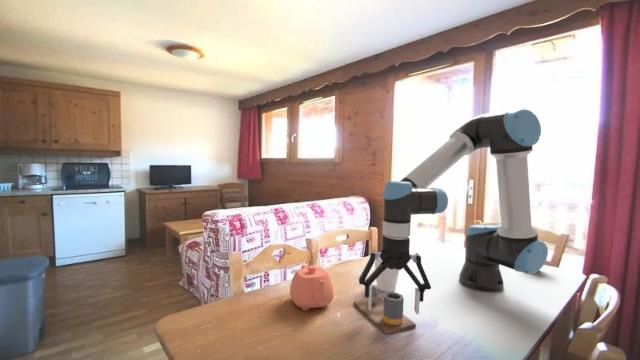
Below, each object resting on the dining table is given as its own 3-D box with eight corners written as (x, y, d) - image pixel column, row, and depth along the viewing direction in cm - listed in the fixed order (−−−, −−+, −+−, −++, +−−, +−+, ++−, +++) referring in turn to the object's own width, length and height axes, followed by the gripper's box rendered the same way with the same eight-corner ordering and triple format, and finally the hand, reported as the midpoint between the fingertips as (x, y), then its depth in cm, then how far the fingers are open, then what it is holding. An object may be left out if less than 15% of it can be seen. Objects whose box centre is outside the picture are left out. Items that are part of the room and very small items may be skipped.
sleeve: (403, 325, 82) (404, 301, 82) (384, 323, 83) (385, 299, 83) (400, 316, 88) (401, 293, 87) (382, 314, 88) (383, 291, 88)
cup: (399, 295, 104) (401, 261, 103) (373, 292, 106) (374, 259, 105) (398, 284, 113) (399, 253, 112) (374, 282, 114) (375, 251, 114)
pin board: (353, 304, 96) (353, 283, 96) (379, 299, 100) (380, 279, 100) (386, 334, 80) (387, 309, 79) (415, 327, 83) (416, 303, 83)
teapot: (301, 324, 84) (302, 282, 83) (284, 294, 102) (284, 259, 102) (344, 316, 89) (345, 276, 88) (320, 289, 107) (321, 256, 106)
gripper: (437, 235, 86) (434, 307, 87) (352, 230, 89) (350, 300, 90) (445, 242, 78) (441, 320, 80) (351, 236, 81) (349, 312, 83)
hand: (392, 310), depth 85 cm, fingers open, 12 cm apart
